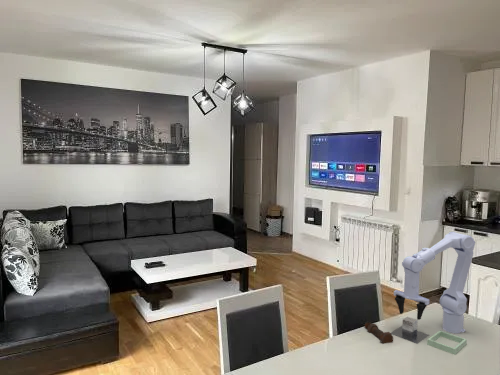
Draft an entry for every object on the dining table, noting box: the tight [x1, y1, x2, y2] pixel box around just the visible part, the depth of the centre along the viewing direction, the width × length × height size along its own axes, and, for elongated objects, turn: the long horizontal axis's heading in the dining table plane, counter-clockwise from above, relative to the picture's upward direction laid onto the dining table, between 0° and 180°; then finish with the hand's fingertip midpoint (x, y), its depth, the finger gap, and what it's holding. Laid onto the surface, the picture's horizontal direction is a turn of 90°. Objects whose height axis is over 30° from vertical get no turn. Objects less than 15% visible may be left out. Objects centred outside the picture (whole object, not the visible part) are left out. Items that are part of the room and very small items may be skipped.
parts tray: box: [426, 330, 468, 355], centre depth 148 cm, size 12×10×3 cm
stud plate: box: [390, 325, 430, 345], centre depth 157 cm, size 12×12×3 cm
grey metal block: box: [401, 316, 419, 338], centre depth 157 cm, size 4×4×6 cm
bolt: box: [364, 321, 394, 344], centre depth 156 cm, size 6×5×15 cm
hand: (410, 316), depth 156 cm, fingers open, 7 cm apart
